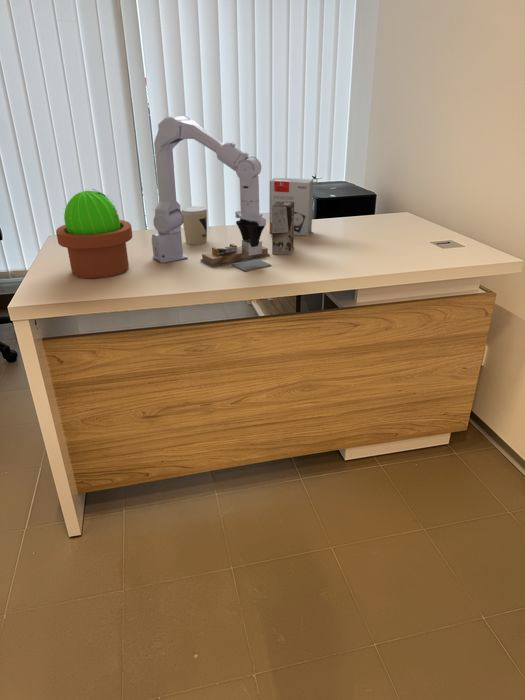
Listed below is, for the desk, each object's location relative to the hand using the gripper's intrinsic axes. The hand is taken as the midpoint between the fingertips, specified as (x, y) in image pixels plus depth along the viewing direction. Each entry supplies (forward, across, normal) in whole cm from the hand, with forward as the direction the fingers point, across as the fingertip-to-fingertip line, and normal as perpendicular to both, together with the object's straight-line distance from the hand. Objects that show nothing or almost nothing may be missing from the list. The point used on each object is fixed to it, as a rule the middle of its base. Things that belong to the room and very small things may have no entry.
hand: (250, 244), depth 163 cm
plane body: (+7, +10, 0) cm, 12 cm away
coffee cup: (+7, +37, +1) cm, 38 cm away
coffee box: (+7, +8, -18) cm, 21 cm away
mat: (+7, 0, 0) cm, 7 cm away
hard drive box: (+7, +27, -35) cm, 45 cm away
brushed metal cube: (+3, 0, 0) cm, 3 cm away
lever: (+3, +10, +4) cm, 11 cm away
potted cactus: (+7, +24, +41) cm, 48 cm away
